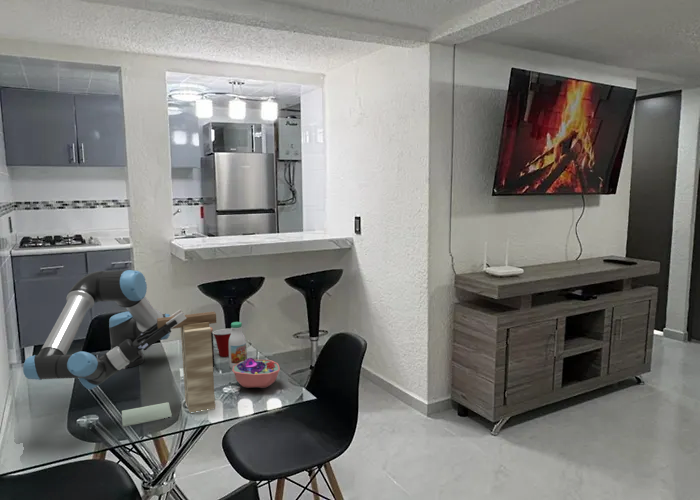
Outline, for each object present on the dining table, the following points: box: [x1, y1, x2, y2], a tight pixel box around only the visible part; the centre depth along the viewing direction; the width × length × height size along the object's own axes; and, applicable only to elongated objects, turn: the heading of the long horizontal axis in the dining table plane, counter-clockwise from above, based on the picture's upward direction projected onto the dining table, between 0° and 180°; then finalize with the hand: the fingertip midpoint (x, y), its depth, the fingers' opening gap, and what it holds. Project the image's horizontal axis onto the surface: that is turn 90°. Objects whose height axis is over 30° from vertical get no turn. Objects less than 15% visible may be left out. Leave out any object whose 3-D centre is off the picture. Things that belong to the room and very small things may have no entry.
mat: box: [121, 401, 173, 428], centre depth 184 cm, size 12×16×1 cm
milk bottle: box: [228, 321, 248, 370], centre depth 228 cm, size 8×8×20 cm
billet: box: [157, 311, 217, 330], centre depth 186 cm, size 4×20×4 cm, turn 115°
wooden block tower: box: [180, 322, 216, 414], centre depth 189 cm, size 12×9×32 cm
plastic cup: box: [212, 328, 232, 358], centre depth 244 cm, size 11×11×12 cm
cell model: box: [231, 357, 281, 389], centre depth 207 cm, size 17×20×11 cm
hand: (183, 313), depth 185 cm, fingers closed on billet, 3 cm apart
